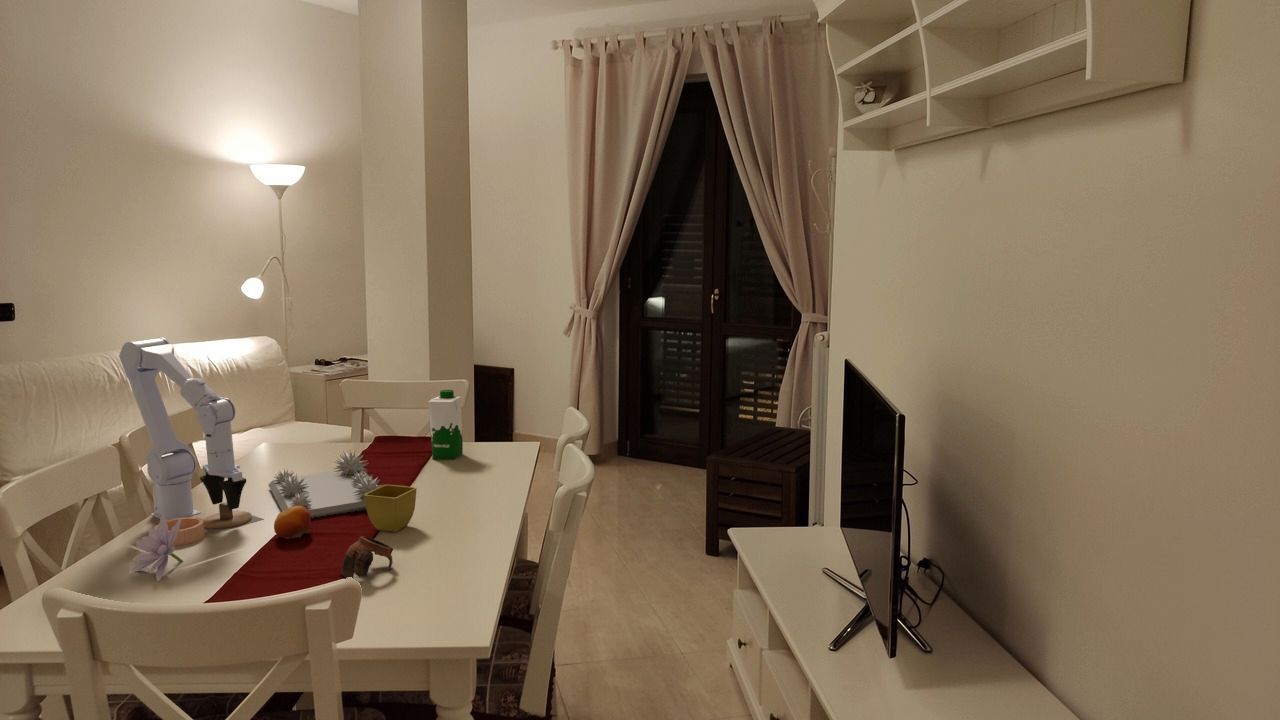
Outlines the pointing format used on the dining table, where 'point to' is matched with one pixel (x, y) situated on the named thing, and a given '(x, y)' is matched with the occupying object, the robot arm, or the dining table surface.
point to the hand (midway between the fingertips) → (225, 505)
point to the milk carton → (446, 426)
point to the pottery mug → (364, 556)
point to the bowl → (187, 530)
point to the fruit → (292, 522)
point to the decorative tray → (326, 488)
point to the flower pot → (390, 506)
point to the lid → (226, 518)
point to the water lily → (157, 548)
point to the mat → (254, 519)
